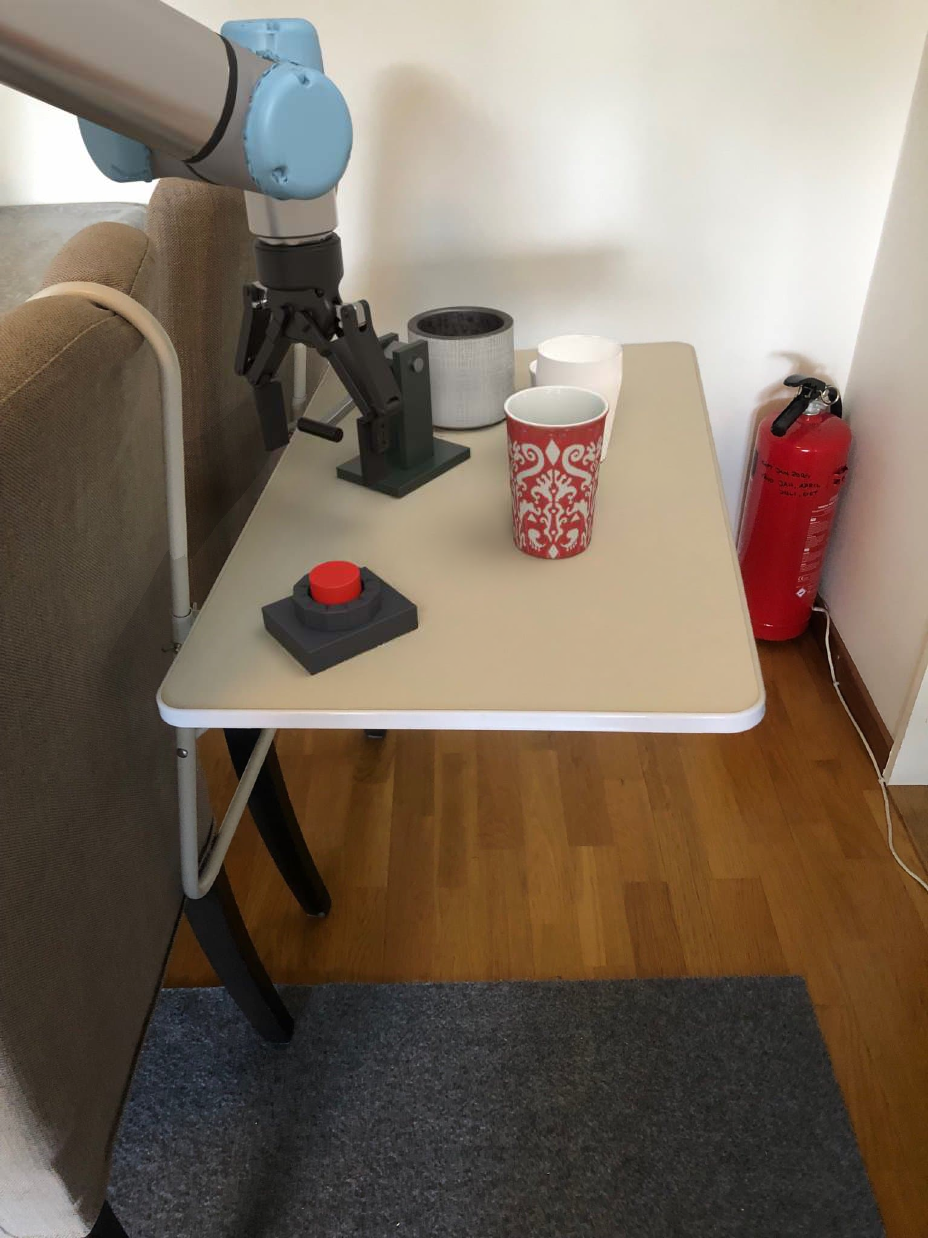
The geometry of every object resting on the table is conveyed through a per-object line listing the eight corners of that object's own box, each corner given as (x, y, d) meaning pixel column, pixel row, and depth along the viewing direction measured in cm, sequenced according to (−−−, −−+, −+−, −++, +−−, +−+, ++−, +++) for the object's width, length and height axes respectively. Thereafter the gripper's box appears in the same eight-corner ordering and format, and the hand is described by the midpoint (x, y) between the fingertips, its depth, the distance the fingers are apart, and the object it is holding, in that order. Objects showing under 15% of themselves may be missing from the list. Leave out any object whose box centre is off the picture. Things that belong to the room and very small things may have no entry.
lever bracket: (399, 499, 94) (388, 367, 86) (336, 476, 99) (321, 350, 91) (470, 457, 102) (467, 333, 94) (409, 438, 107) (401, 319, 99)
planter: (534, 406, 113) (535, 314, 107) (475, 441, 105) (472, 345, 99) (452, 386, 120) (449, 299, 113) (391, 419, 111) (383, 327, 105)
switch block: (312, 675, 71) (305, 633, 68) (264, 629, 76) (257, 588, 74) (418, 627, 75) (415, 587, 73) (367, 587, 81) (363, 547, 79)
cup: (621, 472, 98) (629, 361, 91) (536, 474, 98) (538, 364, 91) (611, 437, 105) (618, 332, 98) (532, 439, 105) (533, 335, 98)
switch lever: (337, 449, 88) (329, 429, 86) (301, 437, 90) (292, 418, 88) (426, 366, 94) (420, 346, 92) (390, 357, 96) (383, 337, 95)
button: (327, 611, 71) (324, 593, 70) (302, 590, 74) (299, 571, 73) (371, 593, 73) (369, 575, 72) (345, 573, 76) (343, 555, 75)
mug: (603, 566, 82) (612, 424, 75) (502, 564, 83) (501, 424, 75) (597, 500, 93) (605, 370, 85) (508, 499, 93) (507, 370, 86)
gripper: (436, 242, 74) (447, 481, 86) (234, 211, 87) (268, 422, 99) (373, 262, 69) (393, 512, 81) (169, 226, 82) (213, 446, 94)
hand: (324, 463), depth 90 cm, fingers open, 13 cm apart
